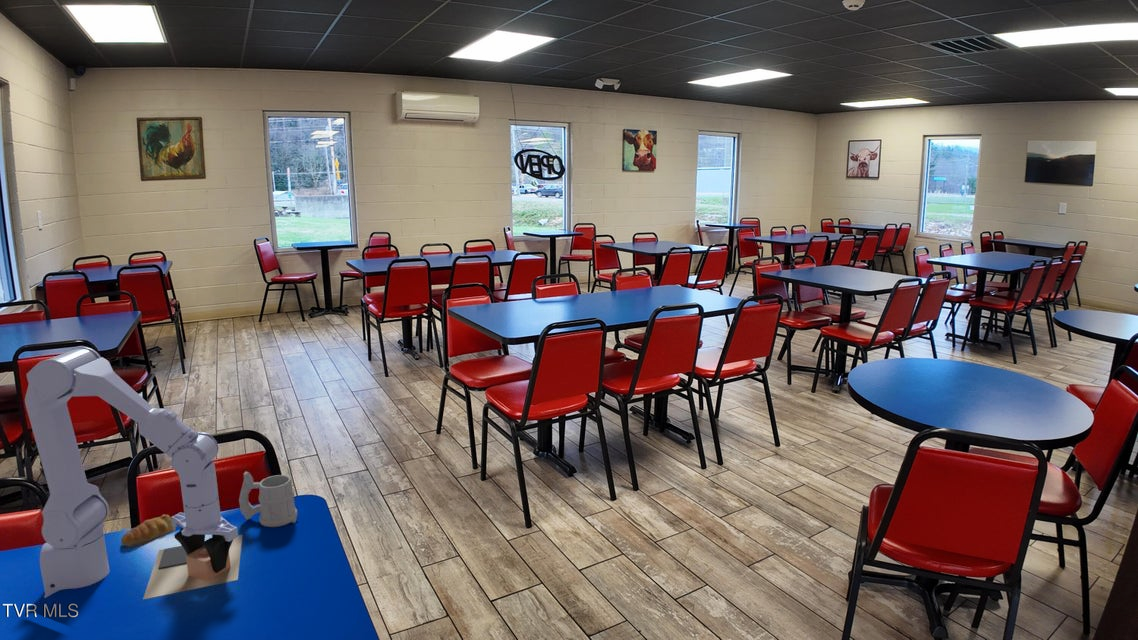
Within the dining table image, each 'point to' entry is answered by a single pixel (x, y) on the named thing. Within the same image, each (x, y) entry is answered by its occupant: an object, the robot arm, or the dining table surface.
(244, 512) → the mug
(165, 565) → the rest pad
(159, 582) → the base board
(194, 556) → the beige toy brick
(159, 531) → the pastry
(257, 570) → the dining table surface
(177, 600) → the dining table surface
